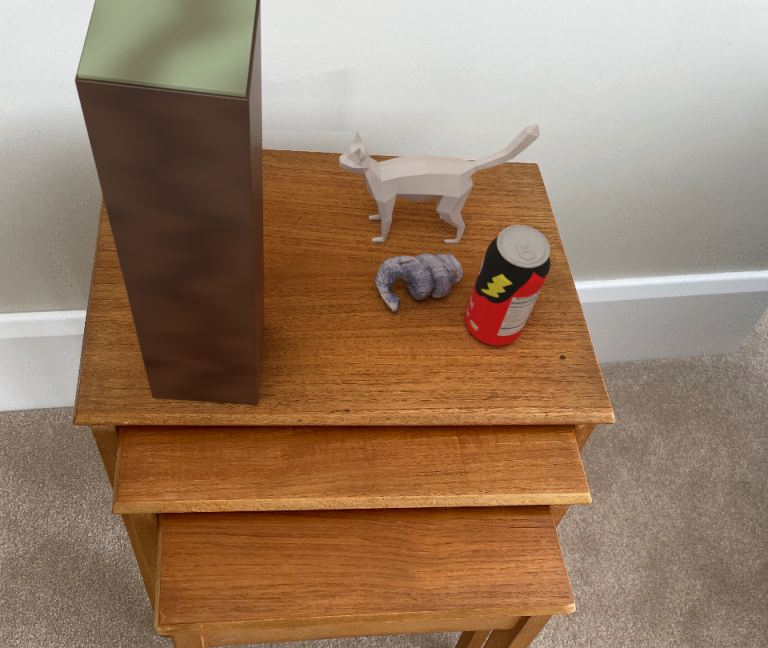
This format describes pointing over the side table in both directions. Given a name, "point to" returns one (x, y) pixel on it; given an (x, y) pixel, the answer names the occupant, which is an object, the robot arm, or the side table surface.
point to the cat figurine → (425, 179)
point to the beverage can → (508, 285)
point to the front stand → (183, 184)
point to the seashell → (418, 276)
